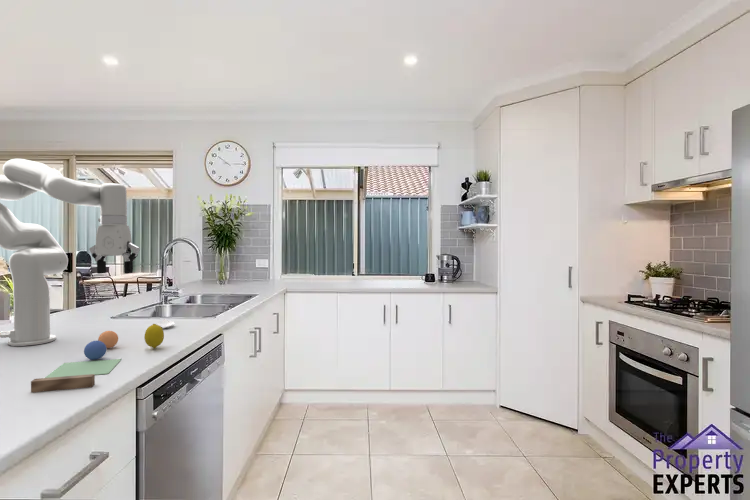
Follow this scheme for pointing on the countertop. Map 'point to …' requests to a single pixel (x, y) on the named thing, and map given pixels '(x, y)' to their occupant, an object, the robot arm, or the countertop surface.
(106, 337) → the orange ball
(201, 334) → the countertop surface
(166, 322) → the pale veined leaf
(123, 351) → the countertop surface
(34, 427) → the countertop surface
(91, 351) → the navy ball
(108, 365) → the green mark
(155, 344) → the lemon
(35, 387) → the rail
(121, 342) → the countertop surface
